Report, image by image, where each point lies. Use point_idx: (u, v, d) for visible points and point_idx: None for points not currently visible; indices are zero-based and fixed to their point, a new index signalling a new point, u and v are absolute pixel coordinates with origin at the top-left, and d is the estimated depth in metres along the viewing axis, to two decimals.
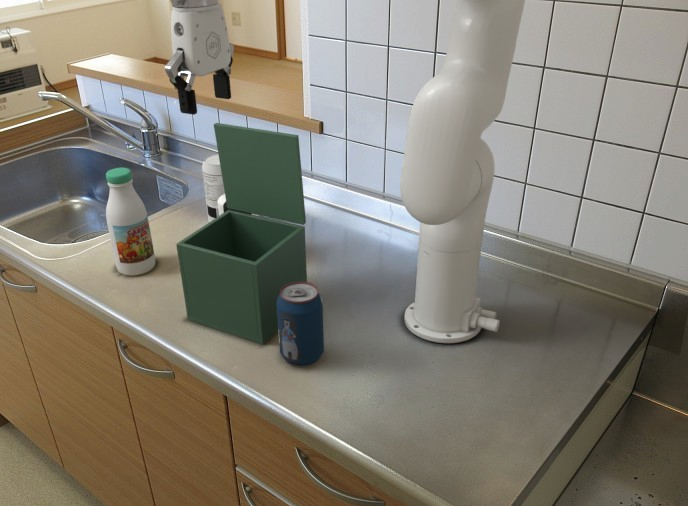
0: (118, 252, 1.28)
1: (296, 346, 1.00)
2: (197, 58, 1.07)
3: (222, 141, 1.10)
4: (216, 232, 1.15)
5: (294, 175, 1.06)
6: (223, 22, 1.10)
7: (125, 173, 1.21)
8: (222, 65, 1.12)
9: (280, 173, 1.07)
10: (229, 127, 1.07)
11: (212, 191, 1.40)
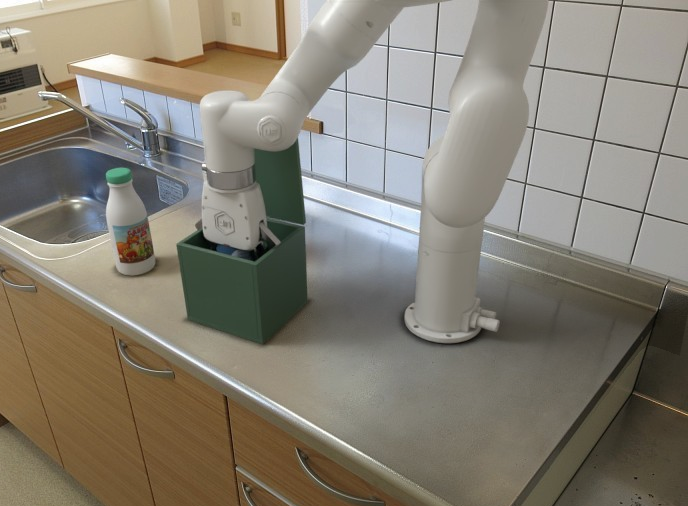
0: (118, 252, 1.28)
1: None
2: (204, 224, 1.07)
3: None
4: None
5: (294, 175, 1.06)
6: (242, 210, 1.02)
7: (125, 173, 1.21)
8: (236, 246, 1.06)
9: (280, 173, 1.07)
10: None
11: None
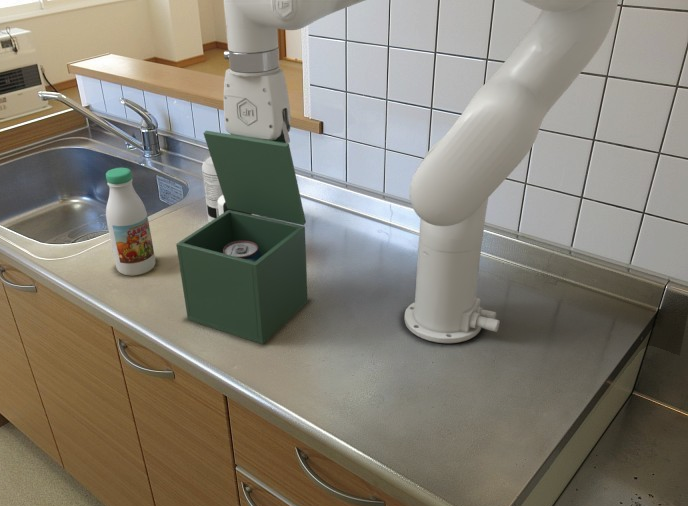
0: (118, 252, 1.28)
1: None
2: (226, 116, 1.05)
3: (213, 148, 1.08)
4: (216, 232, 1.15)
5: (289, 181, 1.05)
6: (265, 95, 1.00)
7: (125, 173, 1.21)
8: (259, 136, 1.04)
9: (275, 178, 1.06)
10: (219, 136, 1.06)
11: (212, 192, 1.40)
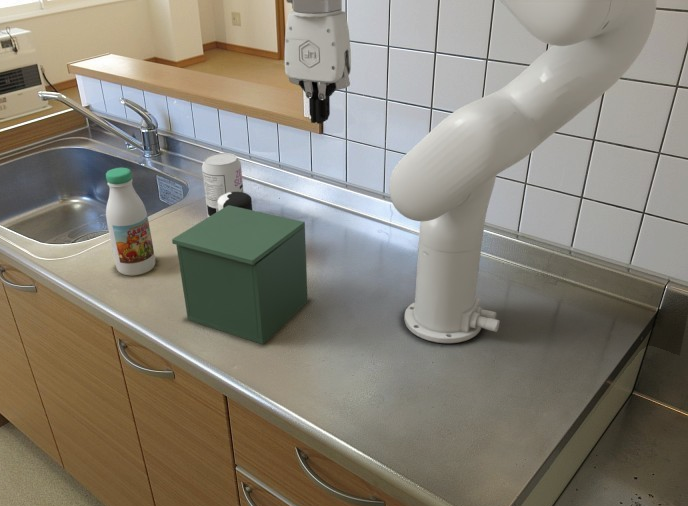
0: (118, 252, 1.28)
1: None
2: (287, 59, 1.07)
3: None
4: None
5: None
6: (329, 36, 1.01)
7: (125, 173, 1.21)
8: (320, 79, 1.05)
9: None
10: (188, 247, 1.06)
11: (212, 192, 1.40)
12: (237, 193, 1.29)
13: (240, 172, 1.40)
